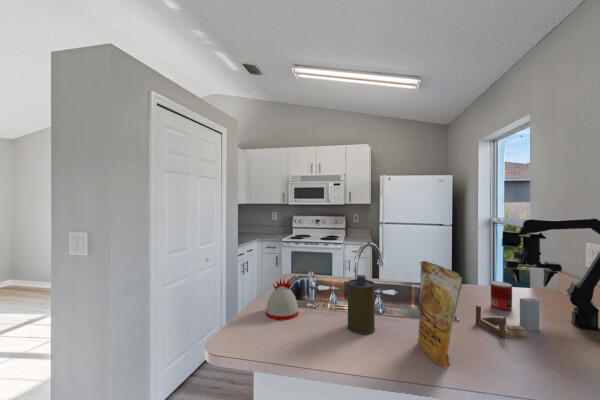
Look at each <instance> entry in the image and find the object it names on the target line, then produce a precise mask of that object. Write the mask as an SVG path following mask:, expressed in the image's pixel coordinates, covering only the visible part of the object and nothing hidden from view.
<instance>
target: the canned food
mask: <svg viewBox="0 0 600 400" xmlns="http://www.w3.org/2000/svg"><path fill="white" fill-rule="evenodd" d="M490 305H491V307H492V308H493V309H494V310H500V311H505V312H509V311H511V310H512V309H513V285H512V284H511V283H509V282H505V281H495V280H493V281H491V282H490Z"/></svg>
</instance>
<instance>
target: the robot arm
mask: <svg viewBox="0 0 600 400" xmlns="http://www.w3.org/2000/svg"><path fill="white" fill-rule="evenodd" d="M581 229H583V230H584V229H591V230H592V231H594V232H595V233H597V234H598V235H600V220H599V219H597V218H595V217H594V218H593V217H589V218H576V219H573V218H572V219H571V218H570V219H555V220H554V219H553V220H552V219H551V220H550V219H549V220H548V219H539V218H527V219H525V220H524V221H523V222H522V227H520V228H519V229H518V231H507V230H503V231H502V237H501V247H504V248H505V247H506V248H507V247H508V248H518V247H519V246H521V245H522V249H521V252H520V251H513V259H511V258H510V259H509V258H508V259H507V258H505V259H503V262H502V263H503V266H504V267H505V268H506V269H509V270H510V271H511V273H512V274H513V277H514V279H515V282H516V284H517V285H518V286H519V285H520V269H519V268H518V267H521V268H523V267H525V268H538V269H543V287H544V288H546V287H547V285H548V284H549V282H550V281H551V279H552V278H553V277H554V276H555V274H558V273H559V272H561V273H562V272H563V266H562V265H561V264H560V263H558V262H555V261H554V262H553V261H545V262H544V263H542V262H541V256H542V251H541V240H542V239H543V240H546V239H547V237H546V236H545V235H544V234H543V233H542V232H546V231H552V230H581ZM517 260H518V261H517ZM599 282H600V251H599V252H598V254H597V255H596V257H595V258H594V260H593V261H592V262H591V264H590V266H589V267H588V269H587V270H586V272H585V273H584V275H583V276H582V278H581V280H580V281H578V282H577V283H574V282H571V283H570V286H569V288H567V289H566V292H567V293H566V295H567V298H568V300H569V301H570V303H571V304H572V305H573V306H575V307H572V308H573V311H571V321H570V322H571V323H572V324H574V325H575V326H576V327H578V329H579V328H580V329H585V330H594V331H600V327H599V312H600V311H599V308H597V306H596V305H595V304H594V303H593V302H592V300H593V297H594V291H595V288H596V287H597V285H598V284H599Z"/></svg>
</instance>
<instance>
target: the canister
mask: <svg viewBox="0 0 600 400" xmlns="http://www.w3.org/2000/svg"><path fill="white" fill-rule="evenodd" d="M346 283H347V325H346V328H347V330H348V331H350V332H351V333H353V334H357V335H361V336H362V335H363V336H364V335H366V336H367V335H371V334H373V333H374V332H376V327H375V316H376V315H375V310H376V309H375V297H376V296H375V295H376V294H375V289H376V288H375V286H376V282H374V281H371V280H368V279H367V278H366V275H365V274H364V275H362V274H357V275H356V278H355V279H349V280H348V281H347V282H346Z"/></svg>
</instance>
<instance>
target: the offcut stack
mask: <svg viewBox="0 0 600 400" xmlns="http://www.w3.org/2000/svg"><path fill="white" fill-rule="evenodd" d="M526 331H527V330H526V329H525V328H523V327H521V326H520V325H505V337H506V338H508V339H515V338H516V339H518V338H528V335H529V334H527V333H526Z"/></svg>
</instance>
